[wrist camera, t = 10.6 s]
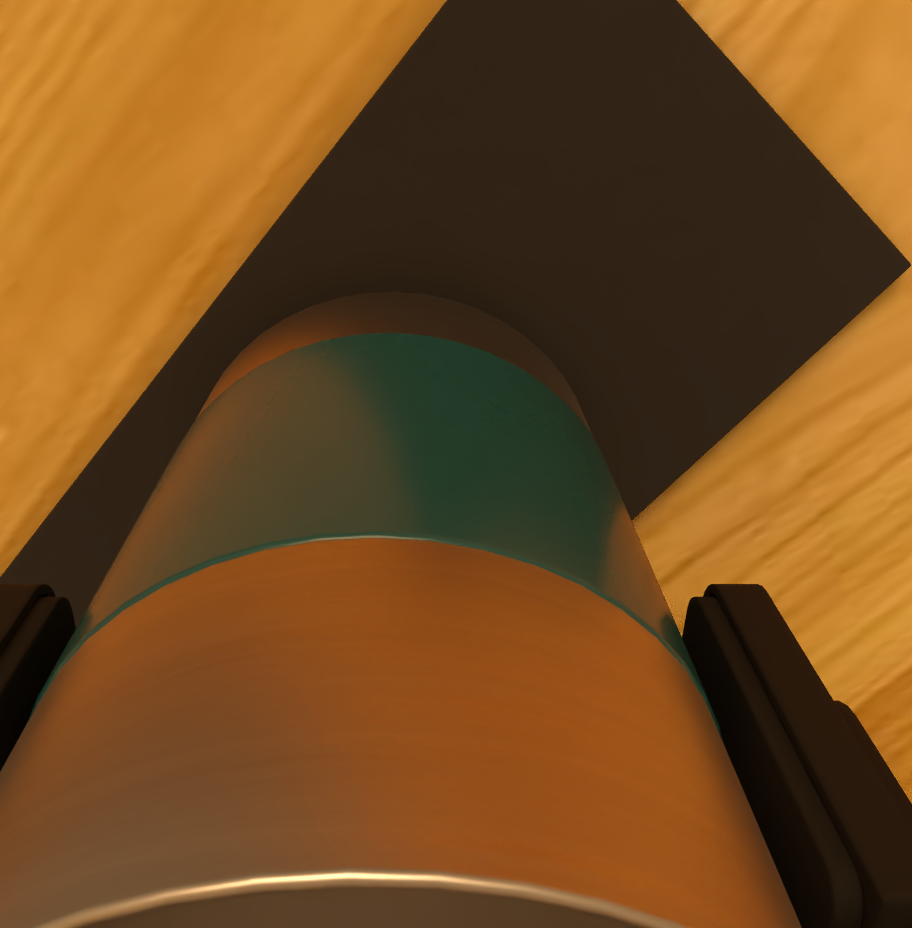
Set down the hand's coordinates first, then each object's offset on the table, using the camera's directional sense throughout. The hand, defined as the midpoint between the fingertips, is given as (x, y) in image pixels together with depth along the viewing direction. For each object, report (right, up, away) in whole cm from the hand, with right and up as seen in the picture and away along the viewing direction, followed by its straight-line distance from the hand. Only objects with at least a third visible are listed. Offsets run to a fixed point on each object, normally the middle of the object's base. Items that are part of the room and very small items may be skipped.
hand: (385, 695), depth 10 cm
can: (0, +2, +5) cm, 5 cm away
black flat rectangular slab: (0, +3, +5) cm, 6 cm away
